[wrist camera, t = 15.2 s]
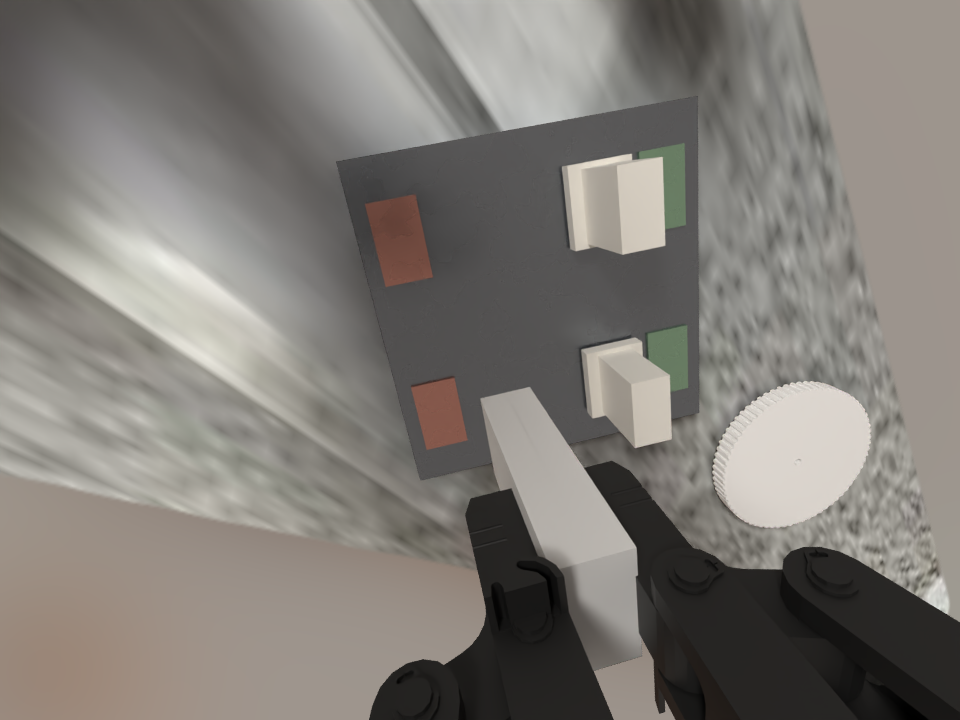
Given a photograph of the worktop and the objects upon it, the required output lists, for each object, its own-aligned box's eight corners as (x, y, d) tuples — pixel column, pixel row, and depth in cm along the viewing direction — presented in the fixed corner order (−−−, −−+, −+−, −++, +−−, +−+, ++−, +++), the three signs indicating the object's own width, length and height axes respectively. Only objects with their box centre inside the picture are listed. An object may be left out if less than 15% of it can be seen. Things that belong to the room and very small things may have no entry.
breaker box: (418, 458, 38) (420, 482, 35) (342, 163, 30) (335, 161, 27) (678, 396, 40) (700, 413, 37) (671, 103, 32) (699, 95, 29)
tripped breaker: (587, 412, 35) (623, 455, 29) (581, 349, 33) (617, 382, 28) (638, 400, 35) (683, 440, 30) (635, 337, 34) (682, 367, 28)
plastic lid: (685, 428, 41) (702, 443, 39) (828, 347, 41) (854, 357, 39) (730, 534, 47) (748, 552, 44) (858, 463, 46) (883, 478, 44)
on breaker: (570, 249, 31) (608, 263, 25) (561, 166, 29) (600, 162, 23) (629, 236, 31) (679, 248, 25) (624, 154, 29) (677, 147, 24)
